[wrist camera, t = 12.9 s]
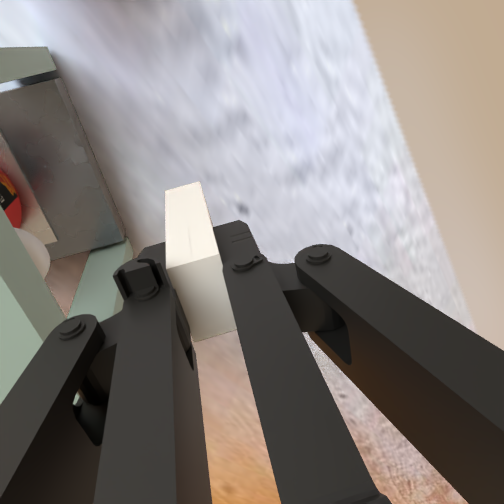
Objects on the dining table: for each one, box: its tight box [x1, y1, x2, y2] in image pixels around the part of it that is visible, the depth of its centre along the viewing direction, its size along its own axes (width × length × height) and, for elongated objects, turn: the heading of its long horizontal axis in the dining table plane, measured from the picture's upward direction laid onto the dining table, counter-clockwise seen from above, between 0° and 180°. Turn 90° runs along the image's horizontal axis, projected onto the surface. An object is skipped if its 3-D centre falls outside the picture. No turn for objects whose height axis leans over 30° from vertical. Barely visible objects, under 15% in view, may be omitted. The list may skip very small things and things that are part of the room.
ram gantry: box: [0, 47, 133, 405], centre depth 21 cm, size 3×16×18 cm, turn 13°
